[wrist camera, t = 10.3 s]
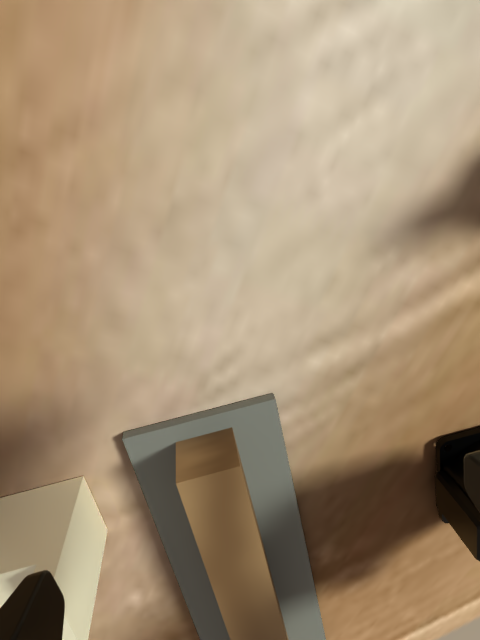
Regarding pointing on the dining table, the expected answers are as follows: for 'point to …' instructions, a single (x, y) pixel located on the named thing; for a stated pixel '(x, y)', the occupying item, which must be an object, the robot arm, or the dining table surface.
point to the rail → (228, 535)
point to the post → (55, 546)
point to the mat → (268, 502)
